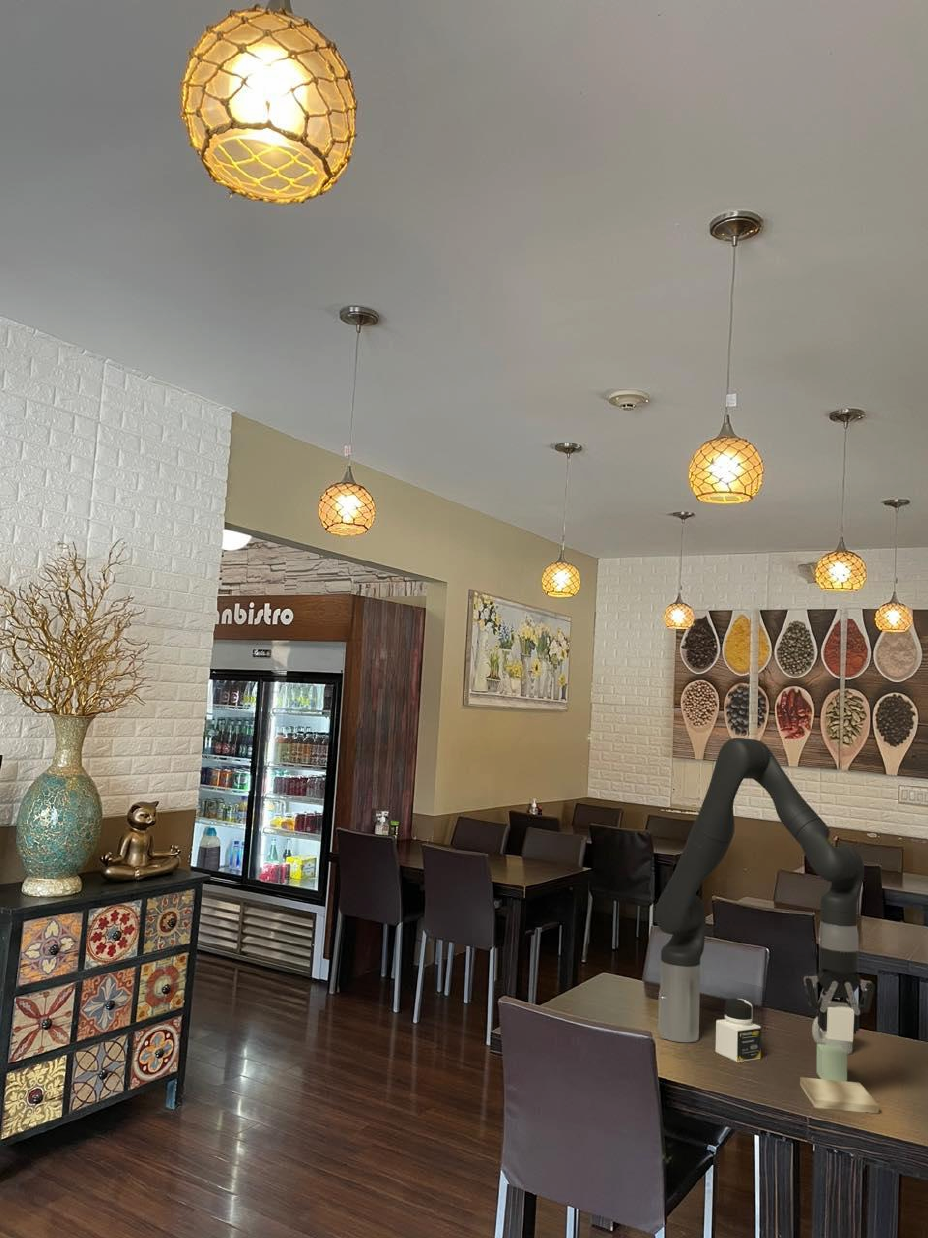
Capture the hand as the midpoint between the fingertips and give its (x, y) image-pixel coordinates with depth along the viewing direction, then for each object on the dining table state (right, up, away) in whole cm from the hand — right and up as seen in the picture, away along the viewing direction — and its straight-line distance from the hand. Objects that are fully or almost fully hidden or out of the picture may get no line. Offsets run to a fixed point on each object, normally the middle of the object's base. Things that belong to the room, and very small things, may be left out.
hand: (838, 1031), depth 189 cm
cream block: (0, -1, +1) cm, 2 cm away
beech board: (-1, -13, -1) cm, 13 cm away
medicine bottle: (-14, -15, +21) cm, 30 cm away
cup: (+10, -17, +28) cm, 34 cm away
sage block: (+3, -15, +10) cm, 18 cm away
